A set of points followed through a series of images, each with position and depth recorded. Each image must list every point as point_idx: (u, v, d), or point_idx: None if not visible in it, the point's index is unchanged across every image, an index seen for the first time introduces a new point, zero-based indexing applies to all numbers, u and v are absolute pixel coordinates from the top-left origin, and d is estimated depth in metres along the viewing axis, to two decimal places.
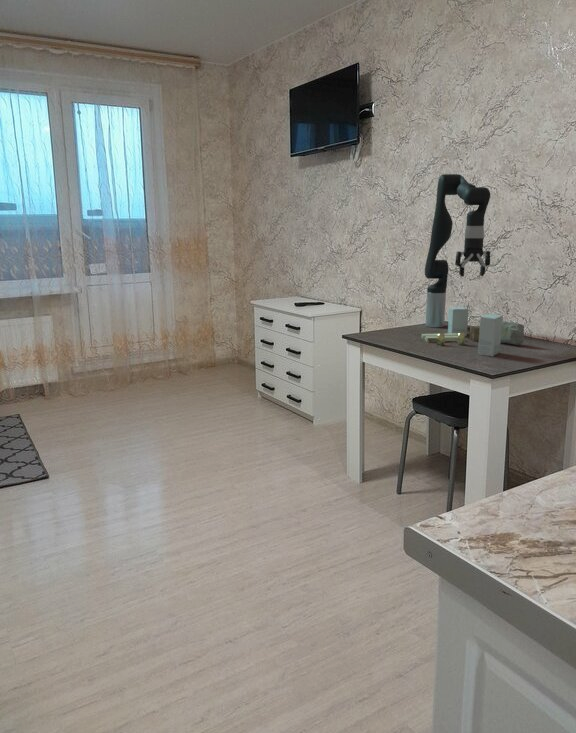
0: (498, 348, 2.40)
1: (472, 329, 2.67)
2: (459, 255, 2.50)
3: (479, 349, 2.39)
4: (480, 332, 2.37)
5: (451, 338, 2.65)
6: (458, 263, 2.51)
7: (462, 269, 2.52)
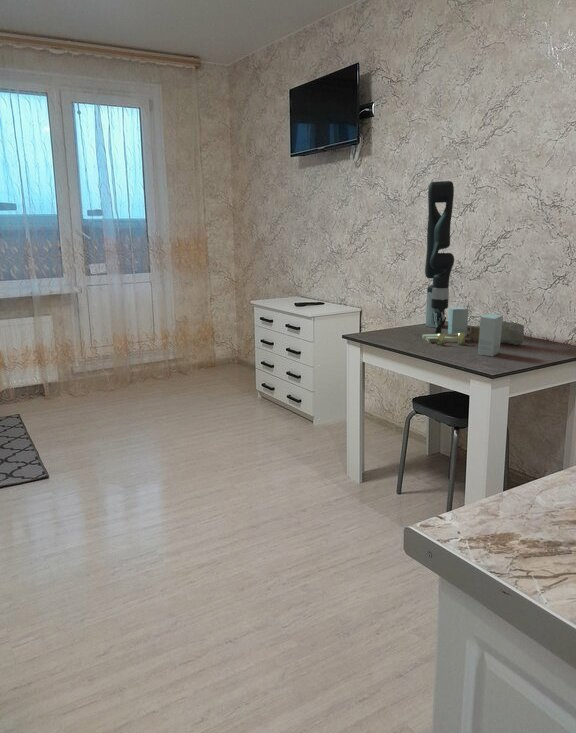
0: (498, 348, 2.40)
1: (472, 329, 2.67)
2: None
3: (479, 349, 2.39)
4: (480, 332, 2.37)
5: (452, 338, 2.64)
6: None
7: (440, 329, 2.74)
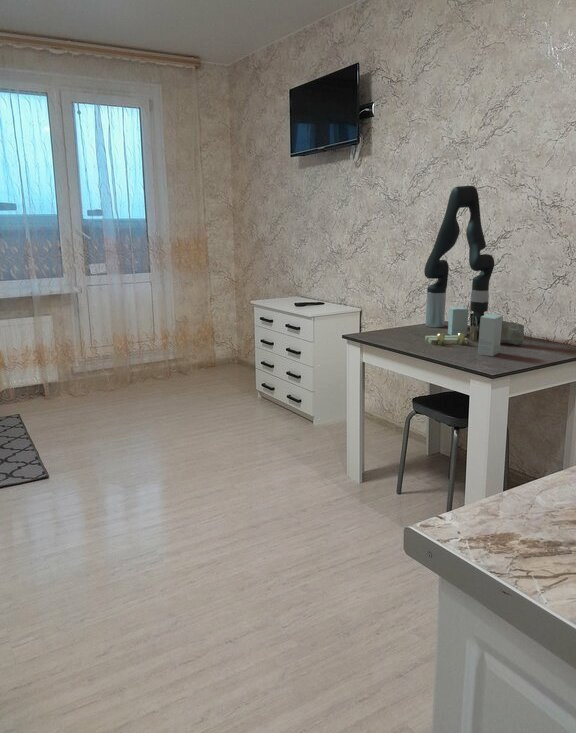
0: (498, 348, 2.40)
1: (472, 329, 2.67)
2: None
3: (479, 349, 2.39)
4: (480, 332, 2.37)
5: (455, 340, 2.60)
6: None
7: None
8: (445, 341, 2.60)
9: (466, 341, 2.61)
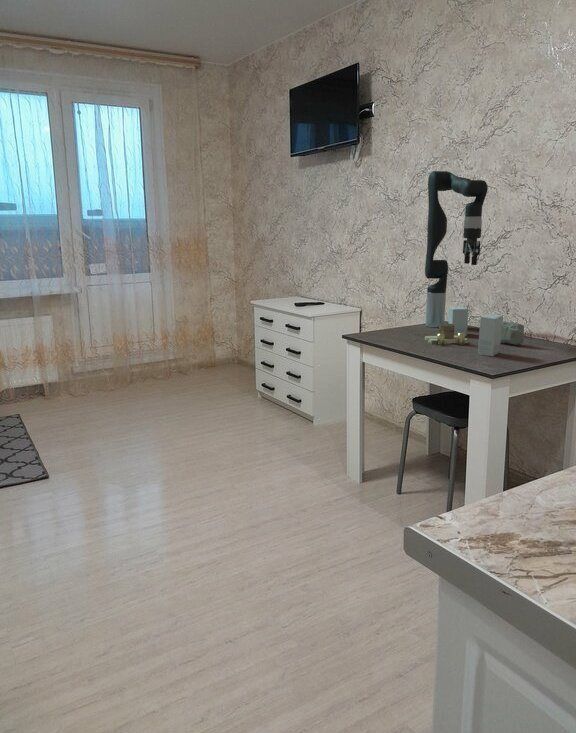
0: (498, 348, 2.40)
1: (441, 327, 2.63)
2: None
3: (479, 349, 2.39)
4: (480, 332, 2.37)
5: (455, 340, 2.61)
6: None
7: (476, 258, 2.63)
8: (445, 341, 2.61)
9: (466, 341, 2.61)
